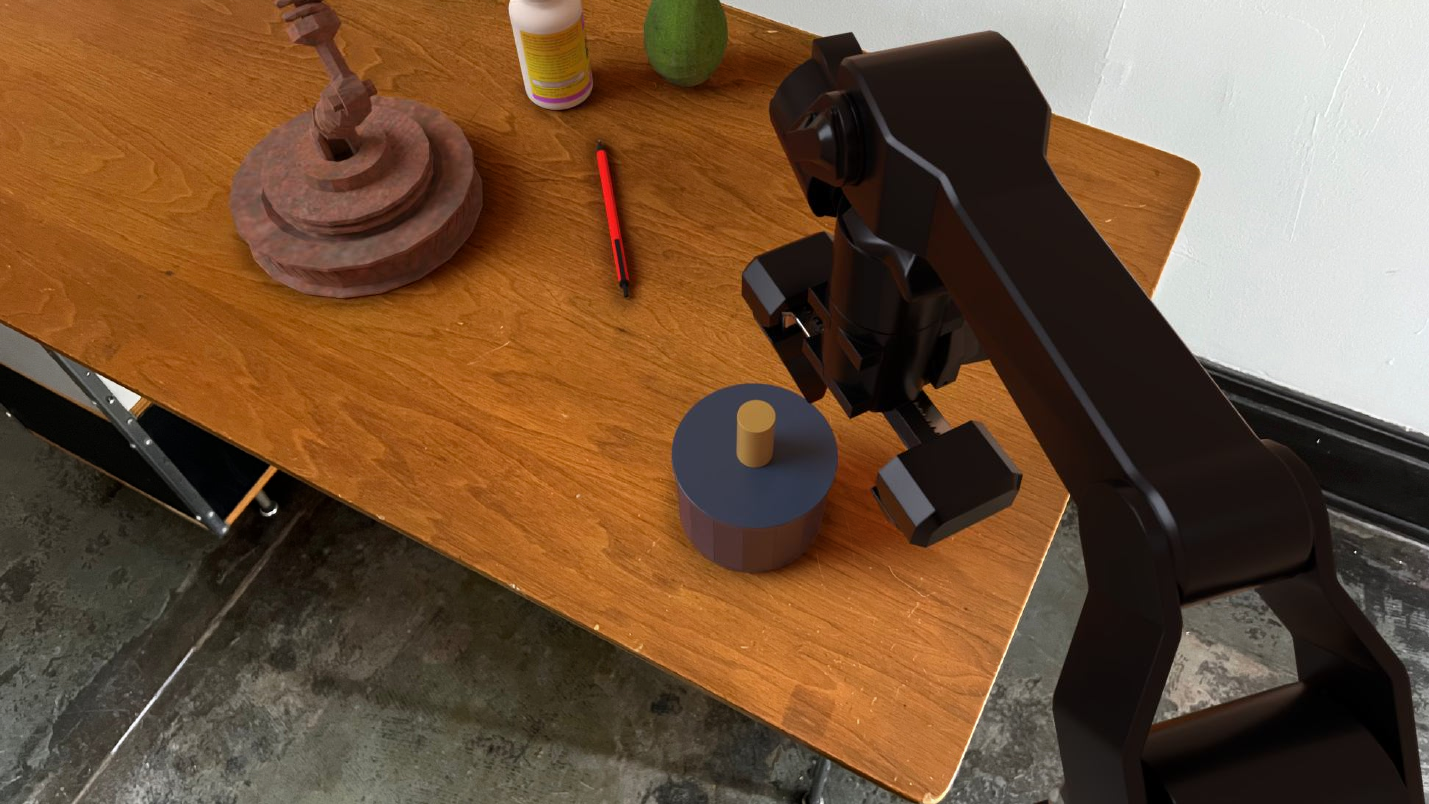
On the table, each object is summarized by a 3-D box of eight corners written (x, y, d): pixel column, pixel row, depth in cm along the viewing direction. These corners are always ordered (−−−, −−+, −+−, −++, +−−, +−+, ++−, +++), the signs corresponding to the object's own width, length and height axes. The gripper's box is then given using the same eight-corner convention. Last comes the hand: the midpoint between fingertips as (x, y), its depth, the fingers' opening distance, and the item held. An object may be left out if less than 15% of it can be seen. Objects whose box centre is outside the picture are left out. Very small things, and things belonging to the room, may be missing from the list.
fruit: (701, 114, 93) (699, 4, 83) (632, 88, 95) (621, -23, 85) (741, 68, 97) (743, -43, 87) (673, 43, 99) (667, -68, 89)
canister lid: (867, 493, 63) (879, 450, 58) (716, 562, 60) (715, 523, 56) (787, 369, 68) (792, 321, 64) (645, 428, 66) (639, 382, 61)
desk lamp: (387, 61, 98) (210, -443, 64) (548, 252, 84) (429, -266, 50) (184, 147, 91) (-131, -364, 58) (322, 370, 77) (10, -135, 44)
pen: (621, 300, 81) (620, 292, 80) (594, 145, 91) (593, 136, 90) (632, 299, 81) (631, 290, 80) (604, 143, 91) (603, 134, 90)
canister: (849, 535, 69) (861, 486, 63) (718, 596, 67) (718, 552, 60) (780, 424, 74) (785, 368, 68) (656, 477, 72) (650, 425, 65)
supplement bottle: (605, 98, 94) (589, -21, 84) (543, 122, 93) (519, 3, 82) (575, 60, 98) (557, -60, 87) (515, 82, 96) (488, -37, 85)
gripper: (1160, 367, 42) (1059, 525, 55) (922, 114, 51) (883, 301, 65) (948, 468, 40) (894, 610, 53) (737, 182, 49) (736, 363, 62)
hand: (853, 455), depth 58 cm, fingers open, 9 cm apart
